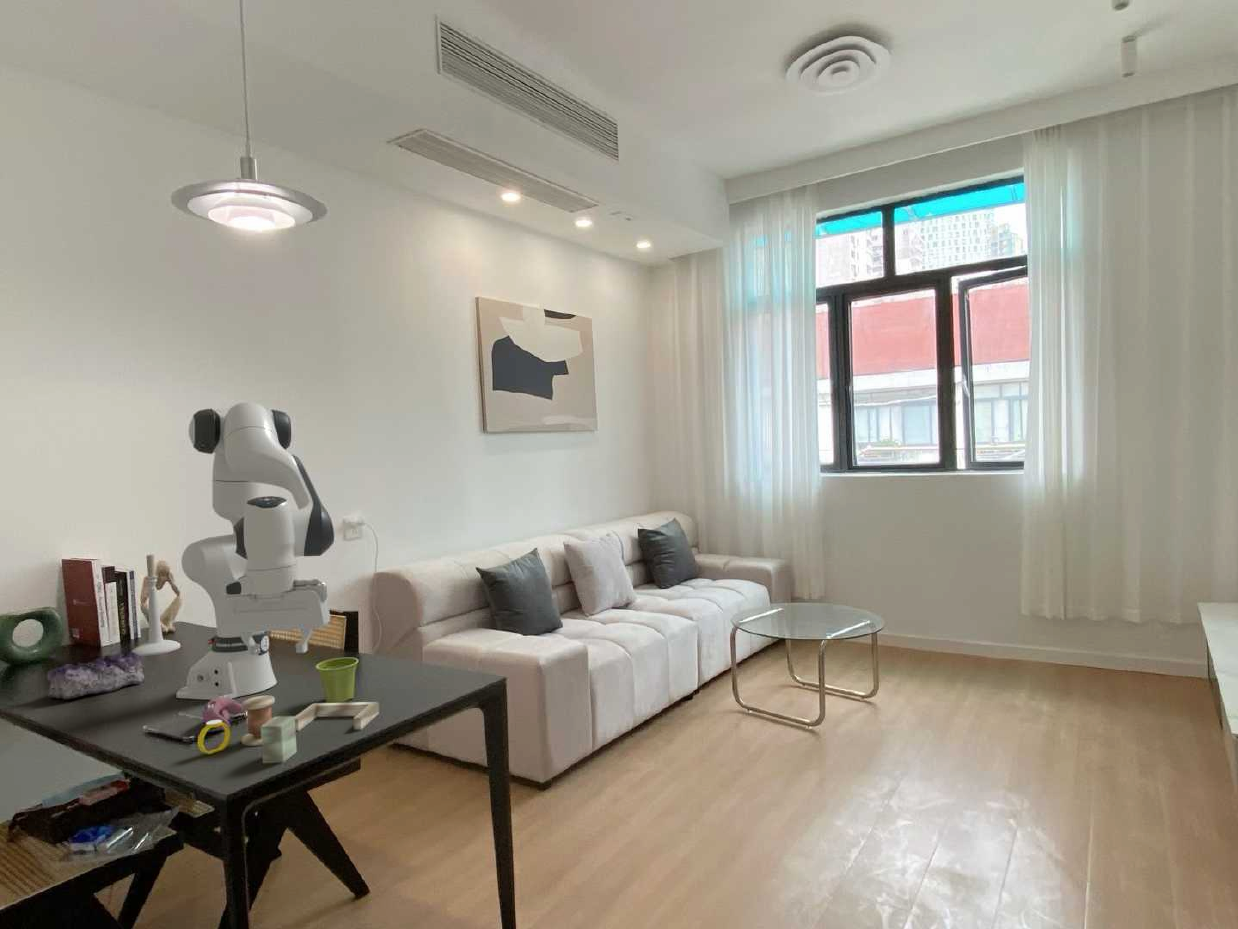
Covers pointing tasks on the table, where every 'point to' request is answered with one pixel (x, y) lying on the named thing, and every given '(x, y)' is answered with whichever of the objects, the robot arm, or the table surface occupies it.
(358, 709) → the beige u-shaped bracket
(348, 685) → the plant pot
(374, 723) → the table surface
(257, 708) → the bobbin
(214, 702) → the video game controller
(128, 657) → the geode
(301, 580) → the robot arm
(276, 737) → the block
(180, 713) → the table surface
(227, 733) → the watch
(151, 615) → the candlestick
